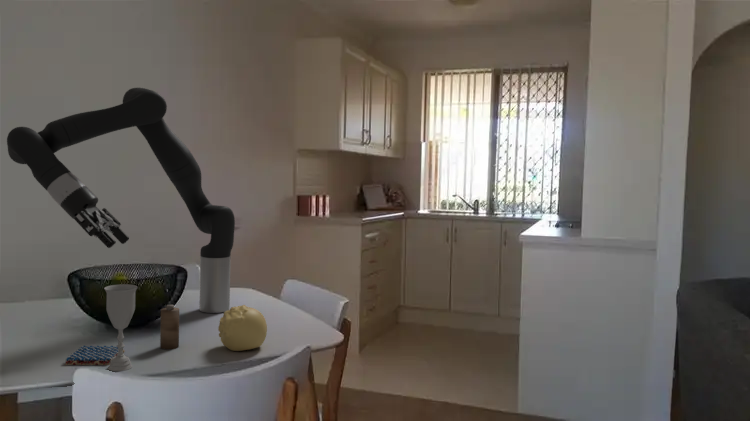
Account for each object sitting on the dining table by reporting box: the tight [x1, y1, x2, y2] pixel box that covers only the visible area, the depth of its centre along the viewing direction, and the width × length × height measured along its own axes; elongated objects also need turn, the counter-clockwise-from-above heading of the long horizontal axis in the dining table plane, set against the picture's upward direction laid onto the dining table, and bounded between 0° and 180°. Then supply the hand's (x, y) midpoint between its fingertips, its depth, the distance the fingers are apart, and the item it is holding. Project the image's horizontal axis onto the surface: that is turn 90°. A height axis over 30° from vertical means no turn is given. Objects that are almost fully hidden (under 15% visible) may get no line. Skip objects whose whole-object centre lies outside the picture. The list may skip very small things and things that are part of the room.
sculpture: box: [217, 304, 268, 352], centre depth 150 cm, size 12×12×11 cm
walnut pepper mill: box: [159, 304, 180, 351], centre depth 149 cm, size 4×4×10 cm
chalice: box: [104, 283, 138, 372], centre depth 132 cm, size 7×7×18 cm
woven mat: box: [65, 345, 126, 366], centre depth 139 cm, size 10×11×2 cm
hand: (119, 243), depth 147 cm, fingers open, 8 cm apart
